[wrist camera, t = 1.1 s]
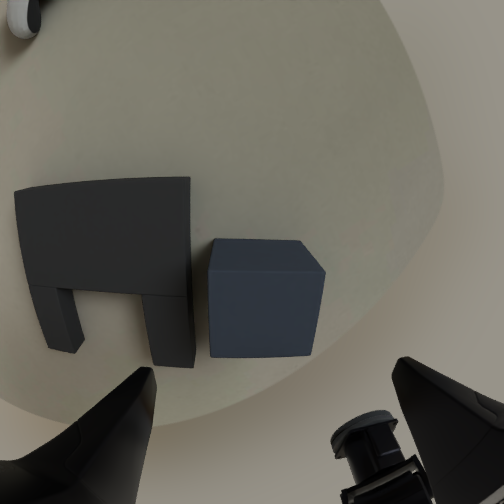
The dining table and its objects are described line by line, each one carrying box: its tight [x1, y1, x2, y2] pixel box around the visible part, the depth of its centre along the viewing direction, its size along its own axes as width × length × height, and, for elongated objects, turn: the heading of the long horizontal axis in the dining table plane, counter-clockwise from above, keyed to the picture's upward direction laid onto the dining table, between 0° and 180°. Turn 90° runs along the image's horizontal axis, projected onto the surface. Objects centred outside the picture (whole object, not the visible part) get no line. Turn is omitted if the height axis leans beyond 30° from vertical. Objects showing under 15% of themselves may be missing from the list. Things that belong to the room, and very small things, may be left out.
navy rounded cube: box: [207, 238, 326, 358], centre depth 15 cm, size 5×5×5 cm
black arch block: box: [14, 177, 196, 368], centre depth 15 cm, size 12×12×2 cm
